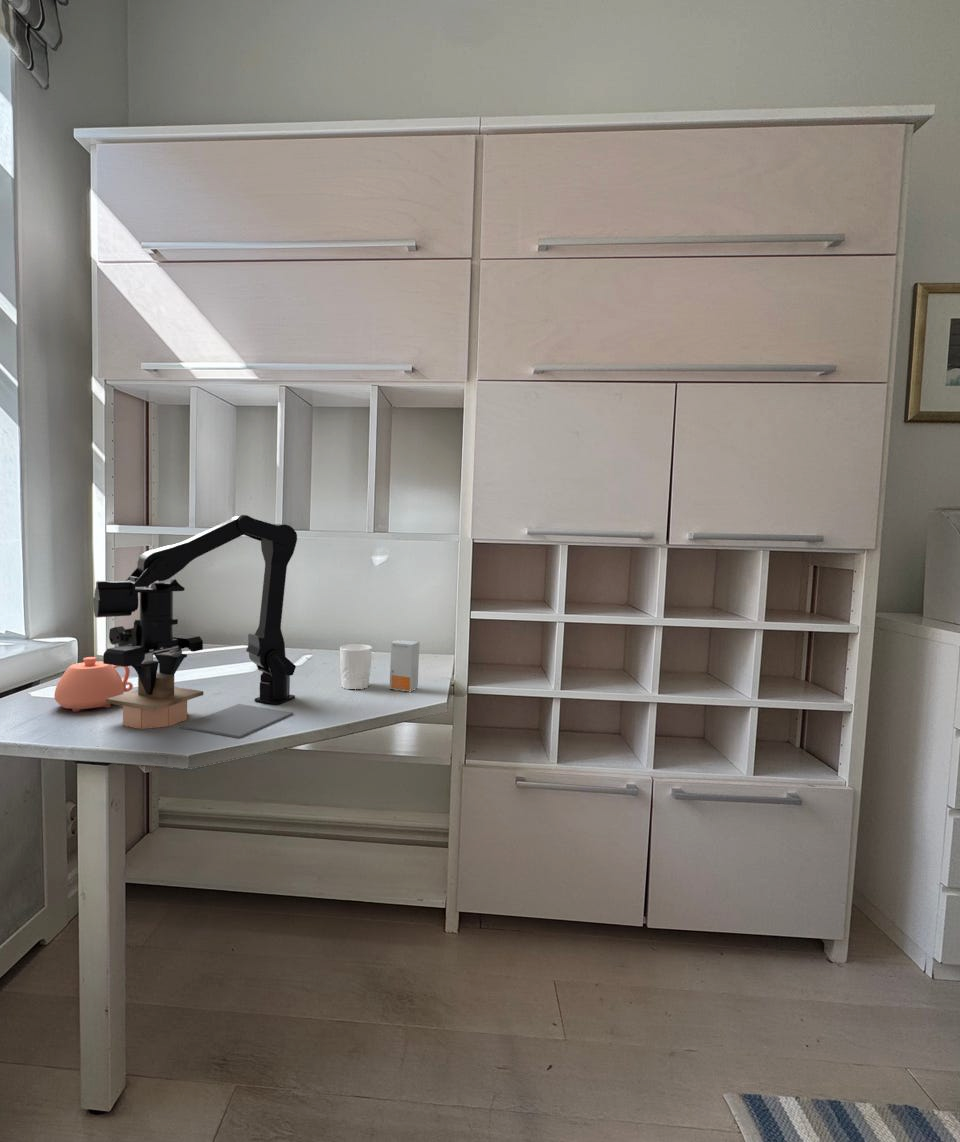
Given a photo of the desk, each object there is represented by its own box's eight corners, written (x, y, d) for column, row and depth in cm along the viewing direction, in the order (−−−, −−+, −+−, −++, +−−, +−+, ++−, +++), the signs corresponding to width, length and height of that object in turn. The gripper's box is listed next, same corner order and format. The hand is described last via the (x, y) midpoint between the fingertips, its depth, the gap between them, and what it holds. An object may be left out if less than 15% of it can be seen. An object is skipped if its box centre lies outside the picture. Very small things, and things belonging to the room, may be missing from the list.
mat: (238, 705, 128) (238, 703, 128) (293, 714, 123) (293, 712, 123) (179, 727, 113) (179, 725, 112) (239, 738, 108) (239, 736, 108)
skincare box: (388, 690, 145) (390, 642, 144) (396, 686, 149) (397, 639, 148) (411, 693, 143) (413, 644, 142) (418, 688, 147) (420, 641, 146)
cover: (158, 688, 124) (158, 665, 124) (203, 695, 120) (203, 671, 120) (105, 702, 113) (105, 678, 113) (154, 710, 109) (154, 685, 109)
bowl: (157, 708, 124) (158, 689, 124) (199, 715, 120) (199, 695, 120) (110, 723, 113) (110, 702, 113) (154, 731, 110) (154, 710, 110)
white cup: (373, 683, 151) (374, 644, 150) (368, 691, 143) (369, 650, 143) (342, 682, 151) (343, 643, 150) (335, 690, 143) (336, 649, 142)
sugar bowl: (51, 702, 125) (51, 655, 124) (127, 693, 134) (127, 649, 133) (57, 718, 116) (57, 666, 115) (138, 706, 125) (138, 659, 124)
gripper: (163, 606, 127) (163, 677, 128) (81, 616, 109) (81, 699, 110) (205, 610, 124) (204, 683, 124) (126, 621, 106) (126, 706, 107)
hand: (156, 692), depth 117 cm, fingers closed on cover, 3 cm apart
